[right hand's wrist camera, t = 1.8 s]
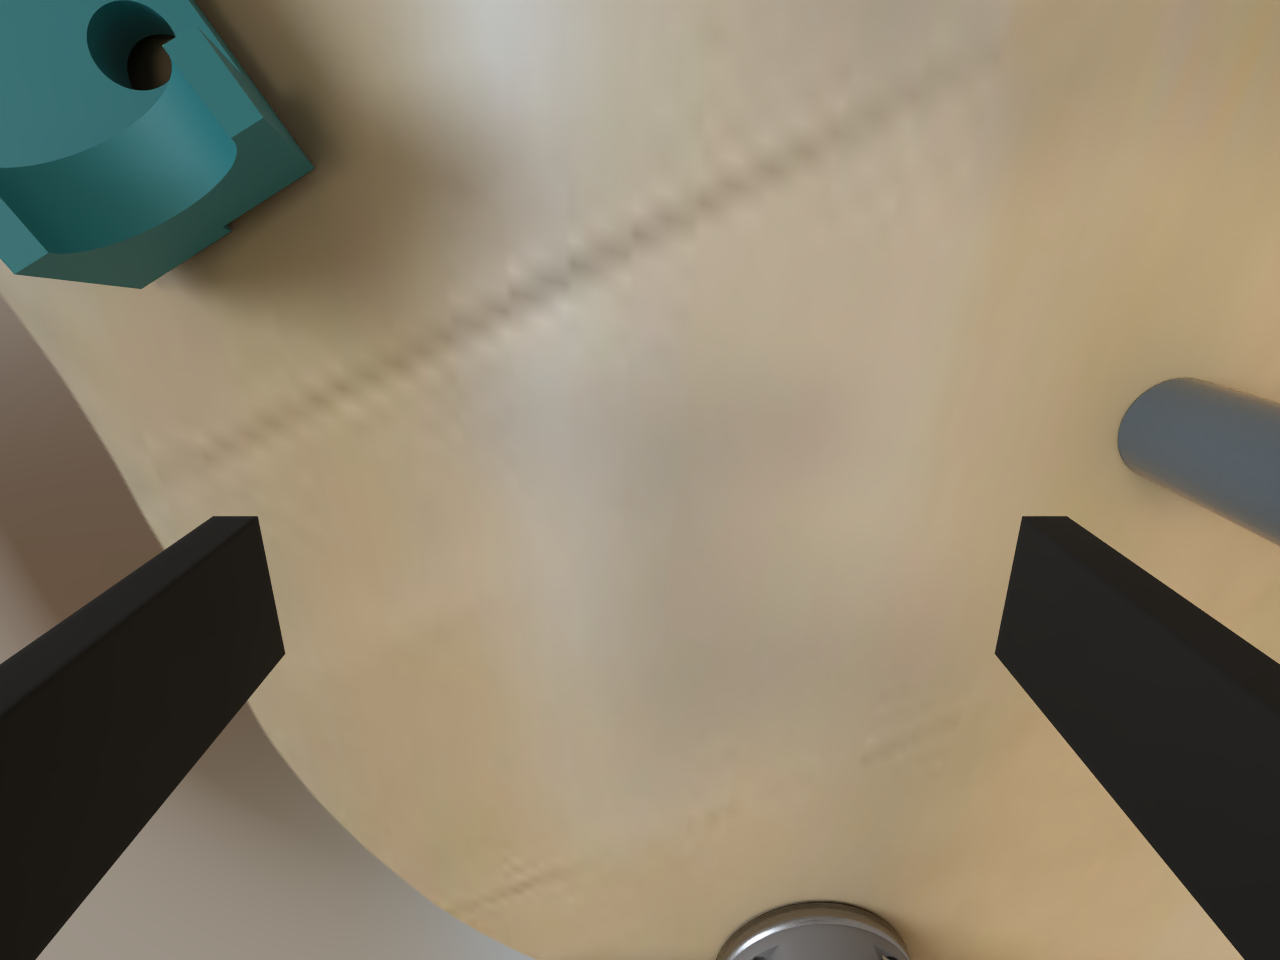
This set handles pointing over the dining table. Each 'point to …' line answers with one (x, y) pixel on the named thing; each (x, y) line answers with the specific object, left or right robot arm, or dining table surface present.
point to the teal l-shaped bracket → (126, 141)
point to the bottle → (1209, 449)
